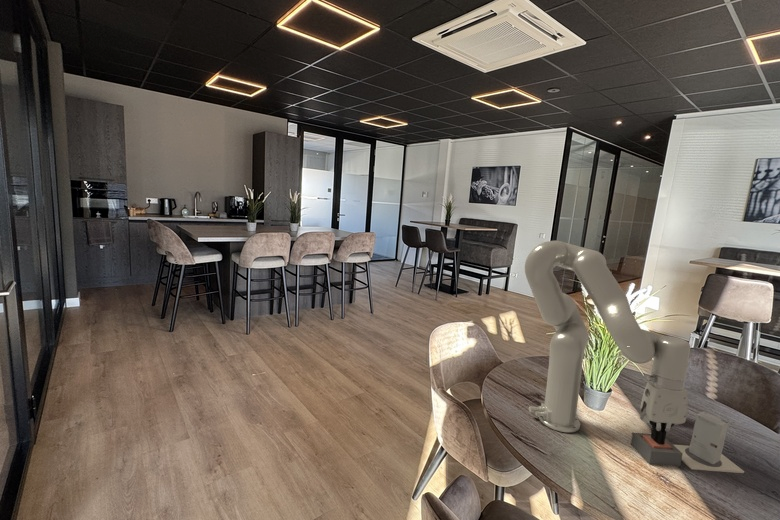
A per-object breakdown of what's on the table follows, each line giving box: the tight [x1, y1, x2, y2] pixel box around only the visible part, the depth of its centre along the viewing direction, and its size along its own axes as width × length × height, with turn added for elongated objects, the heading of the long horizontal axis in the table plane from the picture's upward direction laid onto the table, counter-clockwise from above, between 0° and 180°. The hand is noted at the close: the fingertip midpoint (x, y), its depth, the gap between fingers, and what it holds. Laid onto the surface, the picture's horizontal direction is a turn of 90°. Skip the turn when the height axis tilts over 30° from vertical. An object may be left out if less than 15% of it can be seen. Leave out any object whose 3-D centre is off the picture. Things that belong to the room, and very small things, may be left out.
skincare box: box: [689, 411, 730, 464], centre depth 102 cm, size 6×4×12 cm
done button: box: [642, 435, 671, 449], centre depth 103 cm, size 5×5×3 cm
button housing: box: [630, 432, 683, 467], centre depth 103 cm, size 8×8×4 cm
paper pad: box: [673, 444, 745, 474], centre depth 103 cm, size 14×10×1 cm
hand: (657, 441), depth 103 cm, fingers closed
